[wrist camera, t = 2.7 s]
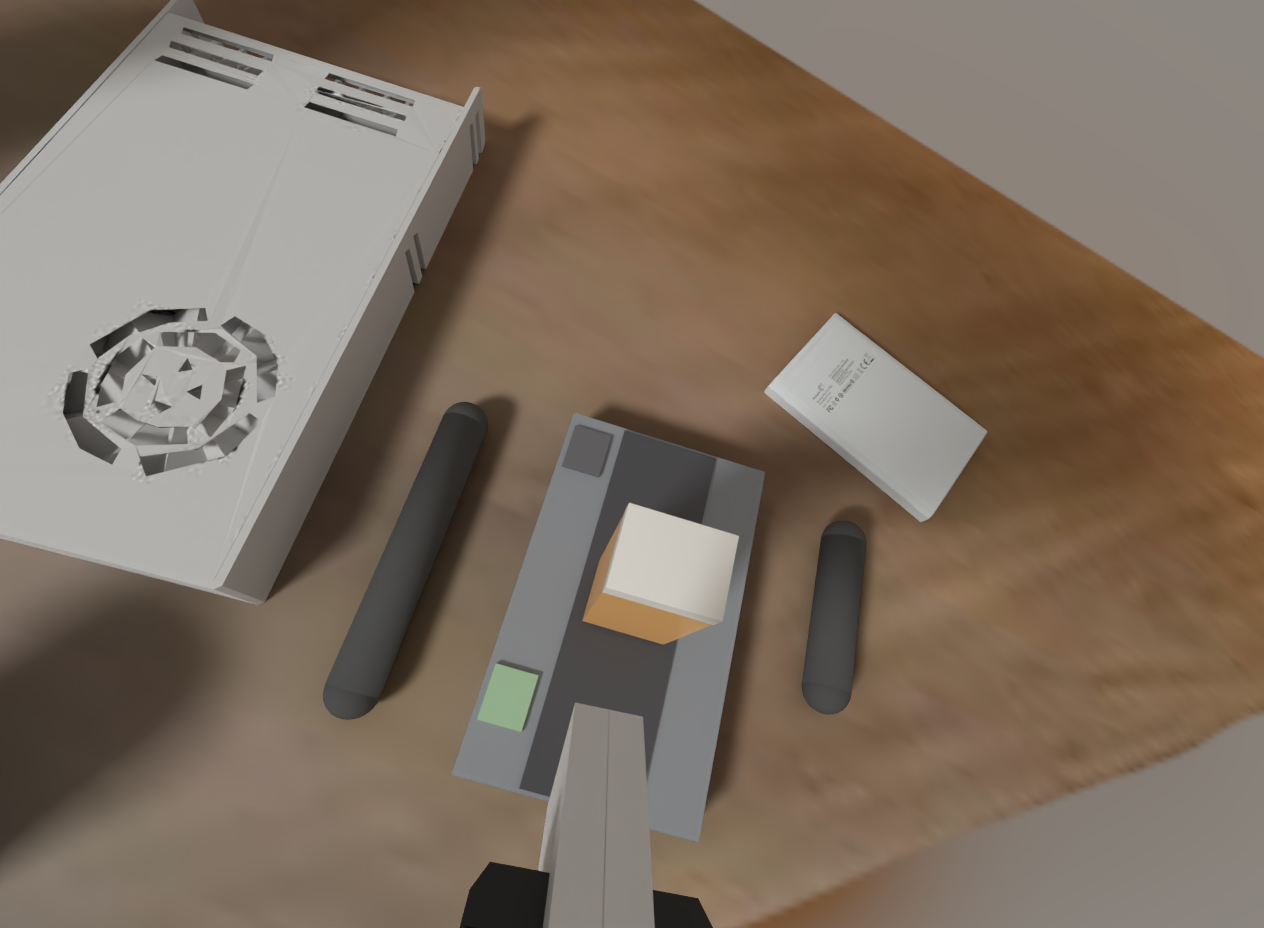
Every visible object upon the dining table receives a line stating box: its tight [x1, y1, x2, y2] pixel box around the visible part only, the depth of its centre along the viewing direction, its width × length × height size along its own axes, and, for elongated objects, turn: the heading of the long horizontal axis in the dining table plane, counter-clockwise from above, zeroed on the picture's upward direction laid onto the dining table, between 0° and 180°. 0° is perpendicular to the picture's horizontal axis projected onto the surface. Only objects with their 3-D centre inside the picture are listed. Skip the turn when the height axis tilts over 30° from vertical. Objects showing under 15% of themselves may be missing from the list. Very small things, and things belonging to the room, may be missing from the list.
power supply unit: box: [0, 0, 485, 605], centre depth 33 cm, size 19×33×5 cm, turn 167°
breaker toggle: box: [582, 503, 739, 645], centre depth 24 cm, size 3×4×9 cm
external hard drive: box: [764, 313, 987, 522], centre depth 38 cm, size 2×8×12 cm
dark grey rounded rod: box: [323, 402, 488, 720], centre depth 30 cm, size 16×2×2 cm, turn 165°
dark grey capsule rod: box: [802, 521, 866, 714], centre depth 32 cm, size 10×2×2 cm, turn 165°
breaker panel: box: [451, 413, 765, 843], centre depth 30 cm, size 18×11×3 cm, turn 165°
